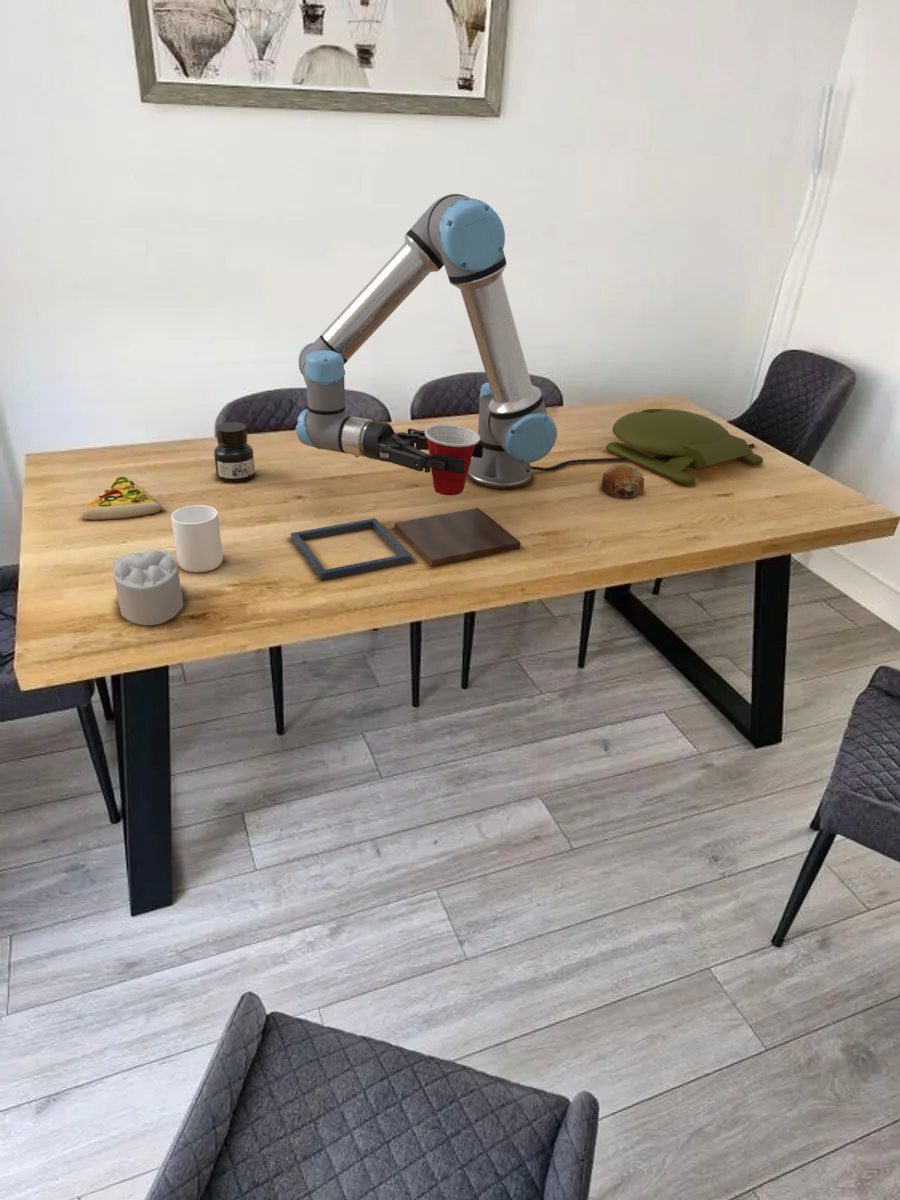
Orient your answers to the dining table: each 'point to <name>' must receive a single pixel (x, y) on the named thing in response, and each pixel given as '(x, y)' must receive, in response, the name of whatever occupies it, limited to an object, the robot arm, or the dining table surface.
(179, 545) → the mug
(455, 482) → the plastic cup
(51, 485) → the dining table surface
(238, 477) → the ink bottle
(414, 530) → the walnut board
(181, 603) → the egg container
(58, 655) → the dining table surface
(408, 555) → the square frame
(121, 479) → the pizza slice
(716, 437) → the spaceship
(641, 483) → the bread roll
